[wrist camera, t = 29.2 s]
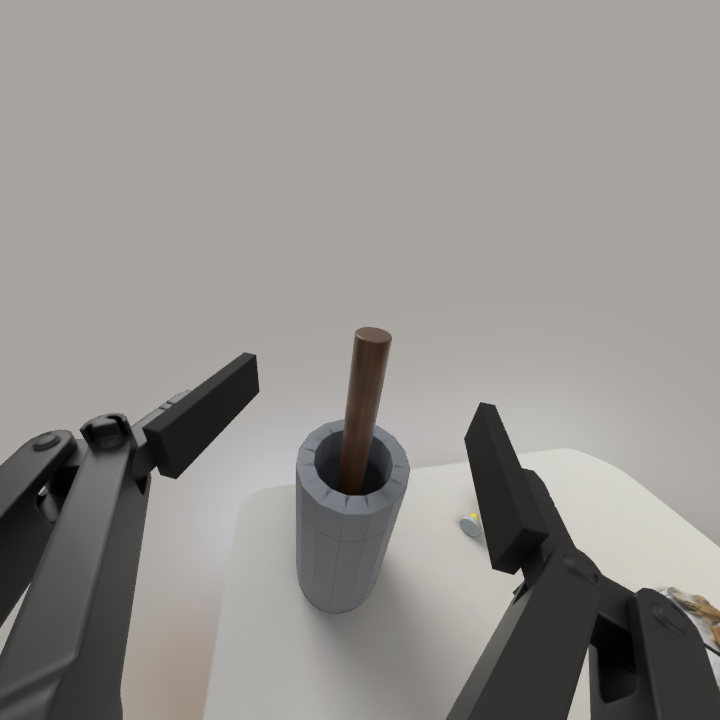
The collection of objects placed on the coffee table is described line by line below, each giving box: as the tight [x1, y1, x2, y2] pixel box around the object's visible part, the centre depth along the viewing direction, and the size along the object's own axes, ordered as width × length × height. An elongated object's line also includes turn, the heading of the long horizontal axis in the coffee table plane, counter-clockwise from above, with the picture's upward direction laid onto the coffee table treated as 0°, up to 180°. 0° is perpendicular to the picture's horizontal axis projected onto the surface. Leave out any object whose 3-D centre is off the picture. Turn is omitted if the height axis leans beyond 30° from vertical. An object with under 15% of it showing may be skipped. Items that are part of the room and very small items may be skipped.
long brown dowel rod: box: [336, 327, 392, 496], centre depth 20 cm, size 3×3×24 cm
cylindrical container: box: [296, 420, 410, 613], centre depth 22 cm, size 8×8×15 cm
